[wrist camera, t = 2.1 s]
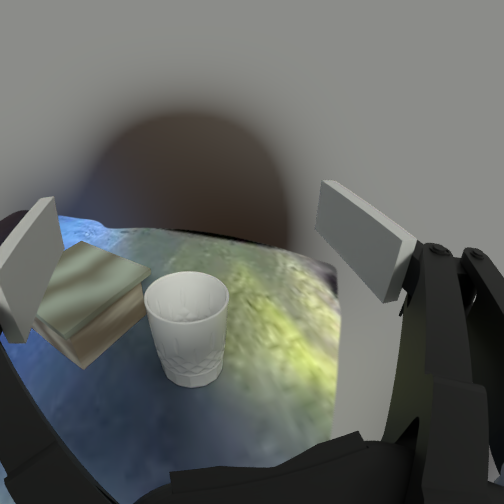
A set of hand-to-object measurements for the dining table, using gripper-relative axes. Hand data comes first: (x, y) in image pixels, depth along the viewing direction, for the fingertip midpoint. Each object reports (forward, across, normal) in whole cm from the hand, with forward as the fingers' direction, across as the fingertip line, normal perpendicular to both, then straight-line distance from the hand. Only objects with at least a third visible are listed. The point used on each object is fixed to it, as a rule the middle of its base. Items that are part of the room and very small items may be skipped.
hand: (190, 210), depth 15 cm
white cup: (+10, 0, -22) cm, 25 cm away
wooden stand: (+19, -14, -22) cm, 32 cm away
